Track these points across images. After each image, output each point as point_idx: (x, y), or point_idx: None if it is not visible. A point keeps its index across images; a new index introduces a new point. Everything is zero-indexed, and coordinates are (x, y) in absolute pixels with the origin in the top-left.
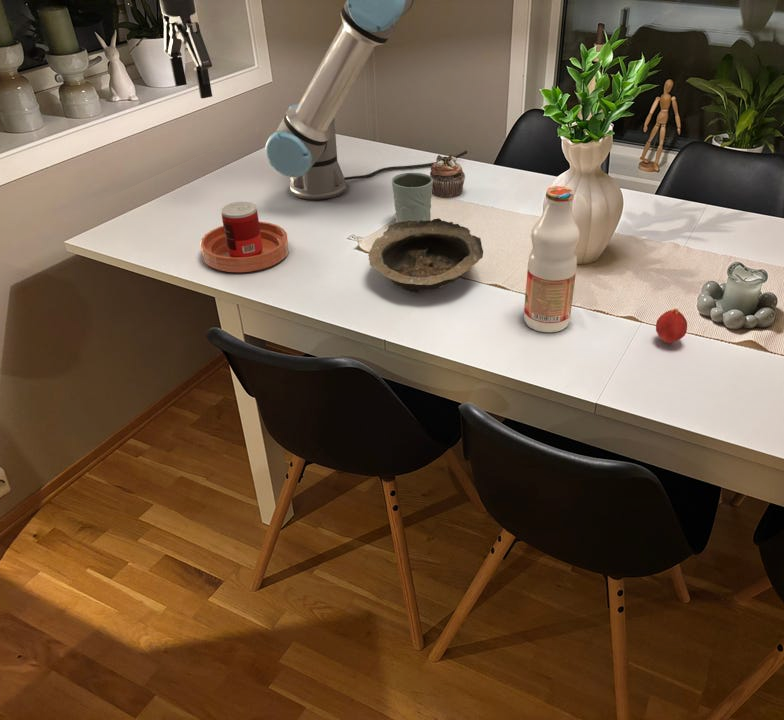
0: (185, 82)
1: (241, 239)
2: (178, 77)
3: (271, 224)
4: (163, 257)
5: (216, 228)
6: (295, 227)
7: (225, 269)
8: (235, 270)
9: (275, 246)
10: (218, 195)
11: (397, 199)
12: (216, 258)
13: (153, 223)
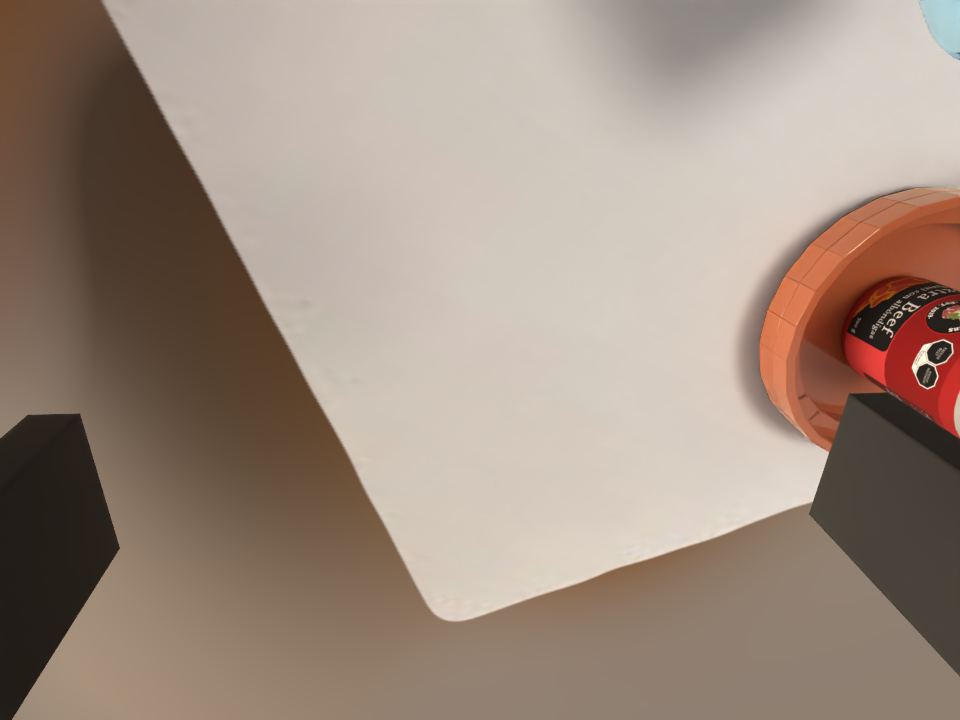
0: (68, 447)
1: None
2: (42, 601)
3: (933, 210)
4: (698, 494)
5: (788, 374)
6: (888, 69)
7: None
8: None
9: (943, 233)
10: (384, 145)
11: None
12: None
13: (470, 441)
